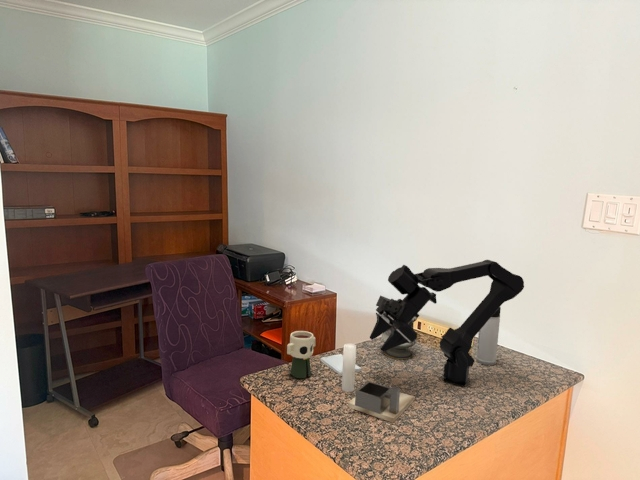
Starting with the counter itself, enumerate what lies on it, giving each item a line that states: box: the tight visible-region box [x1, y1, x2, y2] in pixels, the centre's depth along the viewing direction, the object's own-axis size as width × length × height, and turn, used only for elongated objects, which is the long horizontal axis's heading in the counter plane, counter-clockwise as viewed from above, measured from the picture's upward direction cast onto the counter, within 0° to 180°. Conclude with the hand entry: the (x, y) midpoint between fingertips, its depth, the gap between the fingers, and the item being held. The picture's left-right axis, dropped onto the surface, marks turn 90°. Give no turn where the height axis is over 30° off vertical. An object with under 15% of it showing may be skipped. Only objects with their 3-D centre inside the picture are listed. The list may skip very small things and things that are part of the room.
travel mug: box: [475, 306, 502, 366], centre depth 150 cm, size 6×7×20 cm
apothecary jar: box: [381, 317, 418, 360], centre depth 155 cm, size 12×12×18 cm
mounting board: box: [347, 391, 415, 424], centre depth 120 cm, size 13×14×1 cm
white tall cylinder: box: [341, 343, 357, 393], centre depth 127 cm, size 4×4×13 cm
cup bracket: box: [354, 380, 401, 414], centre depth 116 cm, size 10×7×6 cm
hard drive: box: [320, 353, 363, 376], centre depth 144 cm, size 2×8×12 cm
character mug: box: [286, 330, 316, 379], centre depth 135 cm, size 11×7×13 cm, turn 132°
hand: (375, 344), depth 128 cm, fingers open, 9 cm apart
